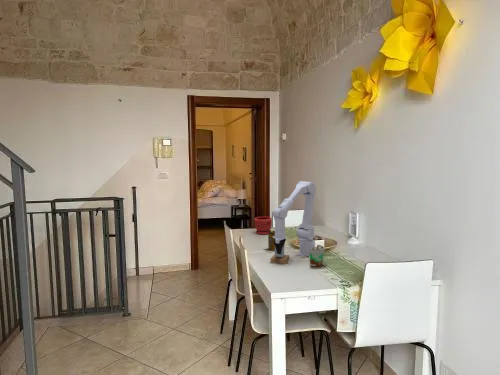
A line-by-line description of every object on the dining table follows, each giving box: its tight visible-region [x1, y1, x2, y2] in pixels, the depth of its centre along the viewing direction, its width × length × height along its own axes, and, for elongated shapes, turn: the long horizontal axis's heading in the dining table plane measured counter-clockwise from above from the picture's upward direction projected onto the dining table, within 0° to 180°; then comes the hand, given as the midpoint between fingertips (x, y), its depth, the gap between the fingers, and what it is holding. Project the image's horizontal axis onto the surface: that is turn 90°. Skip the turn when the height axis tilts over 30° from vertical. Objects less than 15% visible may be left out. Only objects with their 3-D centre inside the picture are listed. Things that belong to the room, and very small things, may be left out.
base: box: [270, 253, 290, 265], centre depth 208 cm, size 9×9×2 cm
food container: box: [309, 244, 326, 268], centre depth 198 cm, size 12×6×10 cm, turn 148°
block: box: [274, 245, 285, 257], centre depth 208 cm, size 4×4×5 cm
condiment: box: [263, 230, 276, 253], centre depth 231 cm, size 7×8×12 cm
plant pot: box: [254, 216, 273, 236], centre depth 278 cm, size 13×13×12 cm
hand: (280, 252), depth 208 cm, fingers closed on block, 4 cm apart
